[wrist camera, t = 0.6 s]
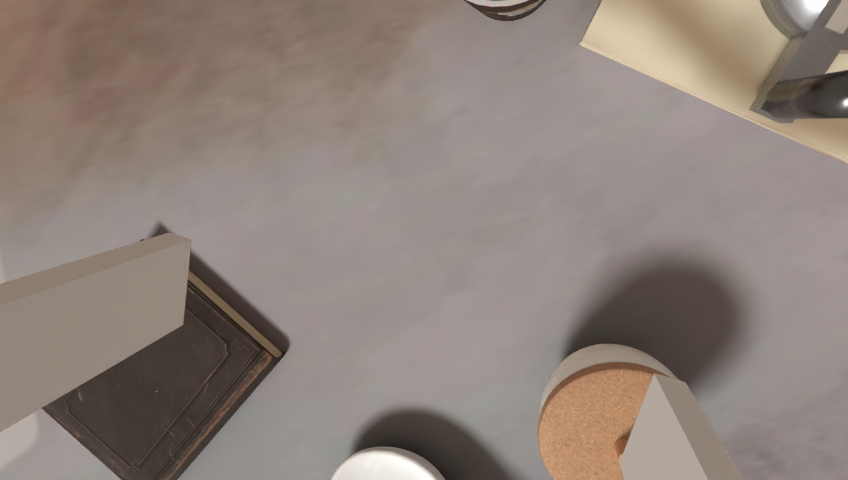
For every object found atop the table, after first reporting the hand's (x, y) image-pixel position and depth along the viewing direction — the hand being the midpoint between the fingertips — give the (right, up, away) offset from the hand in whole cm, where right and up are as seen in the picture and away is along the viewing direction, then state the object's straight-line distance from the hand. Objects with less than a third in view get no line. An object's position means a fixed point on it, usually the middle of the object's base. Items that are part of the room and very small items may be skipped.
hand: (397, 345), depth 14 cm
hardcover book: (-25, -10, +36) cm, 45 cm away
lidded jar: (+15, -9, +27) cm, 32 cm away
